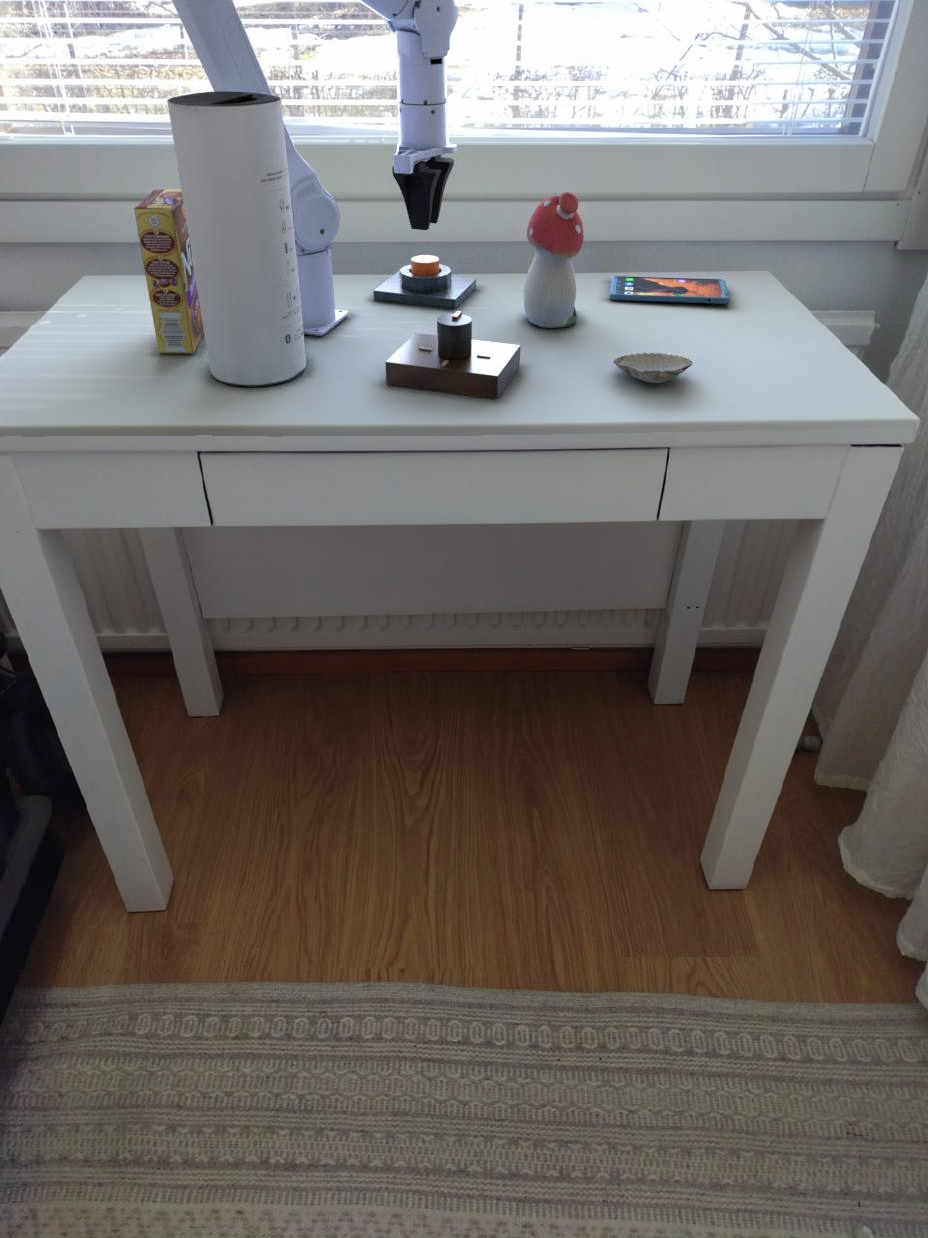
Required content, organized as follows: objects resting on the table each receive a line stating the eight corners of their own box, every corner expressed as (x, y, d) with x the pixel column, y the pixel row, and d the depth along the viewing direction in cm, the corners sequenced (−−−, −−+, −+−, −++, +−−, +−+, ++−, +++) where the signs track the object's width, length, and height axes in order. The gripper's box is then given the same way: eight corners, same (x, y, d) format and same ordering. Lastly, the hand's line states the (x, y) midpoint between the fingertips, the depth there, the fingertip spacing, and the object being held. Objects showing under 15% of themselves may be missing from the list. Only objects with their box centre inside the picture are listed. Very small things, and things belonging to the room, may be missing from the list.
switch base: (373, 299, 117) (372, 275, 116) (398, 279, 124) (397, 256, 123) (455, 308, 115) (455, 284, 113) (476, 287, 122) (476, 264, 120)
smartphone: (611, 275, 124) (725, 278, 122) (610, 285, 125) (724, 289, 123) (609, 291, 117) (730, 295, 115) (608, 302, 118) (728, 306, 116)
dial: (465, 360, 94) (466, 324, 92) (432, 356, 95) (432, 320, 93) (475, 348, 97) (476, 312, 95) (443, 344, 98) (443, 309, 96)
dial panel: (386, 384, 96) (385, 360, 94) (415, 354, 103) (415, 330, 101) (497, 399, 93) (497, 374, 91) (519, 367, 100) (520, 343, 98)
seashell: (676, 381, 101) (607, 361, 101) (687, 354, 100) (617, 333, 99) (688, 399, 94) (614, 378, 93) (699, 370, 93) (624, 348, 92)
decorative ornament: (578, 334, 108) (589, 196, 99) (522, 332, 108) (529, 195, 99) (574, 307, 115) (584, 178, 106) (522, 306, 116) (528, 177, 107)
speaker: (256, 344, 105) (221, 81, 89) (329, 362, 100) (306, 89, 85) (189, 375, 97) (138, 94, 82) (265, 396, 93) (227, 103, 77)
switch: (407, 275, 117) (407, 261, 116) (417, 267, 120) (416, 253, 119) (434, 278, 116) (434, 263, 115) (443, 270, 119) (443, 256, 118)
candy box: (197, 354, 102) (171, 207, 93) (158, 355, 102) (128, 208, 93) (212, 326, 109) (189, 187, 100) (175, 327, 109) (149, 187, 100)
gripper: (434, 112, 100) (436, 243, 108) (473, 94, 111) (472, 214, 119) (374, 109, 102) (380, 238, 110) (418, 91, 113) (421, 209, 121)
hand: (424, 225), depth 115 cm, fingers open, 3 cm apart
